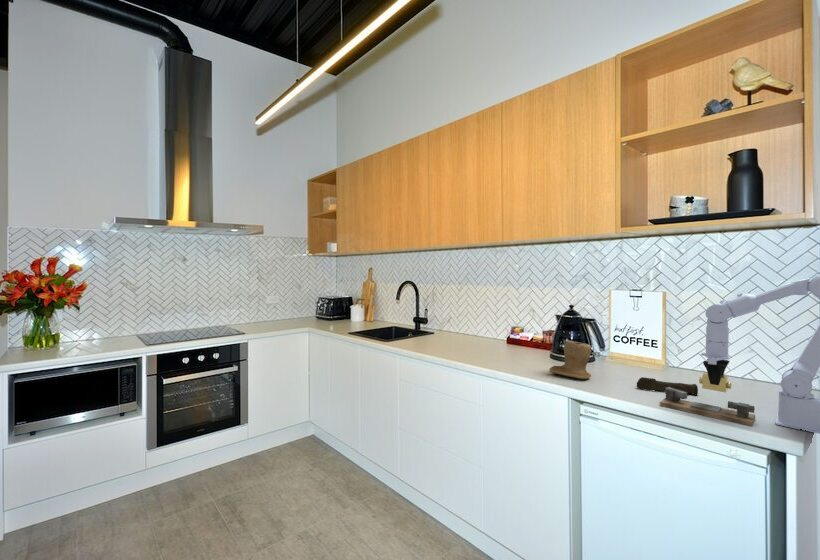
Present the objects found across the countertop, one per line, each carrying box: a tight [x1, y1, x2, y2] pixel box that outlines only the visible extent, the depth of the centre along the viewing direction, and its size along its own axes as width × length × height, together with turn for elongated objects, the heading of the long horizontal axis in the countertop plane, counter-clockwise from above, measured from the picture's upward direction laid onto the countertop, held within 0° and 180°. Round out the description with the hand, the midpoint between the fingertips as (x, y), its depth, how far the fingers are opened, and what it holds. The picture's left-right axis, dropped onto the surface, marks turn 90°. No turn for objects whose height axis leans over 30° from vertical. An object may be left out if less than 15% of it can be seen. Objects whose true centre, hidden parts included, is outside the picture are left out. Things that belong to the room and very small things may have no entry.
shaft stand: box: [659, 387, 756, 427], centre depth 123 cm, size 23×8×5 cm, turn 44°
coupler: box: [698, 372, 732, 394], centre depth 125 cm, size 8×4×4 cm, turn 43°
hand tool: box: [636, 377, 699, 397], centre depth 144 cm, size 19×4×5 cm, turn 65°
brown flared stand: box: [548, 340, 592, 380], centre depth 163 cm, size 15×12×15 cm
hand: (715, 383), depth 125 cm, fingers closed on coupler, 4 cm apart
